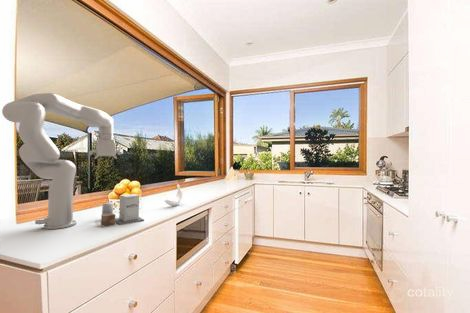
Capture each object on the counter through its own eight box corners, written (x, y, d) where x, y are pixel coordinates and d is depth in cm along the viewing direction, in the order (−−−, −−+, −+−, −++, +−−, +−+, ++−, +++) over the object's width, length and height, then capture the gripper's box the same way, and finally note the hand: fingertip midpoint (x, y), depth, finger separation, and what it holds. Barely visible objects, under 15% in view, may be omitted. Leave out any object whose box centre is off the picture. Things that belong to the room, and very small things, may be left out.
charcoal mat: (119, 224, 114) (119, 223, 114) (112, 219, 123) (112, 218, 123) (144, 220, 122) (144, 219, 122) (136, 216, 131) (136, 215, 131)
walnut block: (103, 226, 111) (104, 216, 111) (101, 224, 115) (101, 214, 115) (115, 224, 114) (115, 214, 114) (112, 222, 118) (112, 212, 118)
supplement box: (124, 221, 118) (125, 196, 118) (118, 219, 123) (119, 195, 123) (139, 219, 123) (139, 195, 123) (132, 216, 128) (133, 193, 128)
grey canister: (107, 220, 122) (108, 204, 122) (99, 219, 123) (100, 204, 123) (114, 218, 127) (115, 203, 127) (106, 217, 128) (107, 202, 128)
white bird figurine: (164, 207, 155) (164, 185, 155) (177, 202, 173) (178, 183, 174) (170, 208, 154) (170, 186, 154) (183, 203, 172) (184, 183, 172)
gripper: (90, 135, 131) (89, 166, 131) (123, 137, 142) (122, 165, 142) (88, 136, 137) (87, 165, 137) (120, 138, 148) (119, 165, 148)
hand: (105, 165), depth 139 cm, fingers open, 9 cm apart
